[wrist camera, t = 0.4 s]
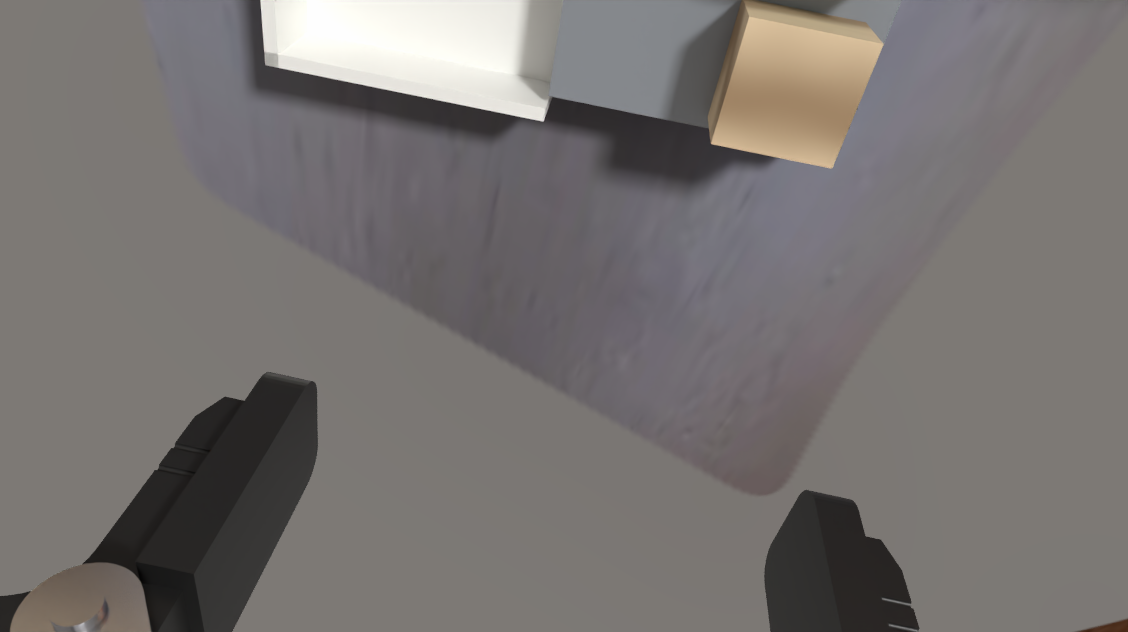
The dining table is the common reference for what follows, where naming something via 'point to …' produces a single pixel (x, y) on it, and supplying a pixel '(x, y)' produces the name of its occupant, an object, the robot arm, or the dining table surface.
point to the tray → (423, 47)
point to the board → (665, 50)
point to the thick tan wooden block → (791, 82)
